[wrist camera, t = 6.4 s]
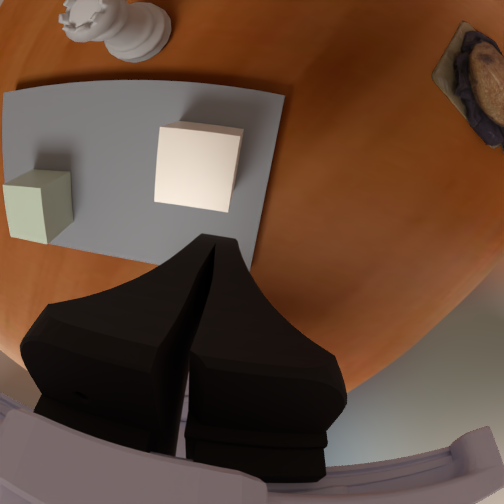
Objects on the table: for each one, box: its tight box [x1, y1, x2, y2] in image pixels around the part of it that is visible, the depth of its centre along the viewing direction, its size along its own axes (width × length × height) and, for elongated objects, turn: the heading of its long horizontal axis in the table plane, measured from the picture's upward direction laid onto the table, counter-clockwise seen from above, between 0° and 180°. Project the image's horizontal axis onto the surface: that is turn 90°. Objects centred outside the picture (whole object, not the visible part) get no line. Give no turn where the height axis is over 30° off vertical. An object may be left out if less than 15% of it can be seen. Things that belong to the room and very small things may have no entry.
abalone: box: [432, 21, 504, 153], centre depth 14 cm, size 11×8×4 cm
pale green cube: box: [3, 169, 73, 244], centre depth 17 cm, size 4×4×4 cm
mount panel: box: [2, 80, 285, 272], centre depth 18 cm, size 13×22×4 cm, turn 80°
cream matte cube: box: [154, 121, 244, 213], centre depth 16 cm, size 4×4×4 cm
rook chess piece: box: [59, 0, 171, 63], centre depth 11 cm, size 4×4×8 cm
